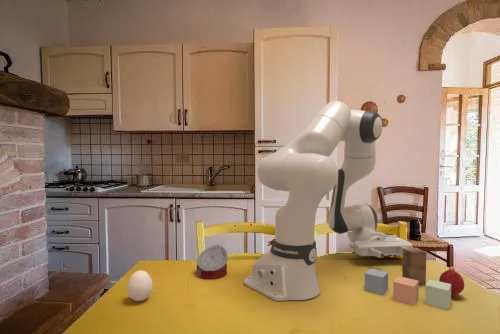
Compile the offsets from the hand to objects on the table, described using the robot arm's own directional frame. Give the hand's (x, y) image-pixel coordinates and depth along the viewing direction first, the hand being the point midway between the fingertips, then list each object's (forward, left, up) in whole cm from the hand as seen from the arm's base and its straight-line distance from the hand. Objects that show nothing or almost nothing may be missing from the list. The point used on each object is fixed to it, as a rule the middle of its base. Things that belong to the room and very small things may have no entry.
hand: (395, 254), depth 104 cm
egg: (-46, -66, -6) cm, 80 cm away
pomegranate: (+17, -10, -6) cm, 20 cm away
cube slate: (0, -19, -6) cm, 19 cm away
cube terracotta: (+8, -20, -6) cm, 22 cm away
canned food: (-45, -41, -6) cm, 61 cm away
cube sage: (+15, -17, -6) cm, 23 cm away
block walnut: (+7, -7, -5) cm, 11 cm away
